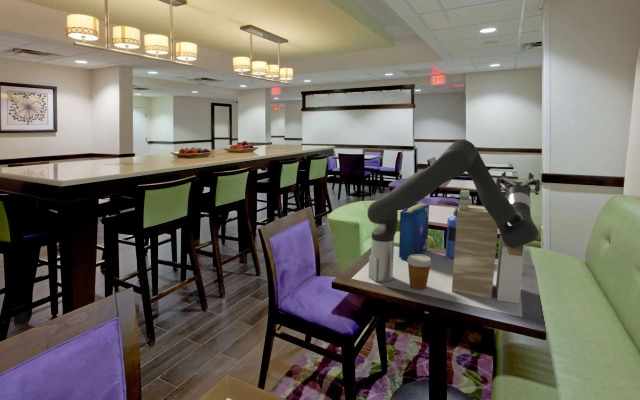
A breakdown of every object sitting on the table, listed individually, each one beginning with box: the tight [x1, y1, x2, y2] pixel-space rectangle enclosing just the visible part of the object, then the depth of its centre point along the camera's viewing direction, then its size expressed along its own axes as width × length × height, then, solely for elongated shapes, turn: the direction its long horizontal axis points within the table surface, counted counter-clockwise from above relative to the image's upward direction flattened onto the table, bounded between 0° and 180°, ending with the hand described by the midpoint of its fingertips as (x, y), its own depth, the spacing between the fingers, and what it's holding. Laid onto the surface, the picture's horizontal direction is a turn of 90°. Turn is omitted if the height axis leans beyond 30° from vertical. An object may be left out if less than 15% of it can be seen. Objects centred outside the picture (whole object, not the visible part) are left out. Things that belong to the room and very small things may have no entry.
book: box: [398, 202, 430, 261], centre depth 183 cm, size 22×7×25 cm, turn 143°
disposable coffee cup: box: [406, 254, 433, 291], centre depth 147 cm, size 10×10×12 cm
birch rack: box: [451, 189, 499, 299], centre depth 143 cm, size 14×14×39 cm
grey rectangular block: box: [495, 235, 525, 304], centre depth 139 cm, size 15×7×20 cm, turn 157°
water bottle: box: [445, 206, 459, 260], centre depth 181 cm, size 9×9×25 cm
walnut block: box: [507, 245, 524, 256], centre depth 134 cm, size 26×4×4 cm, turn 157°
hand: (517, 174), depth 141 cm, fingers open, 8 cm apart
